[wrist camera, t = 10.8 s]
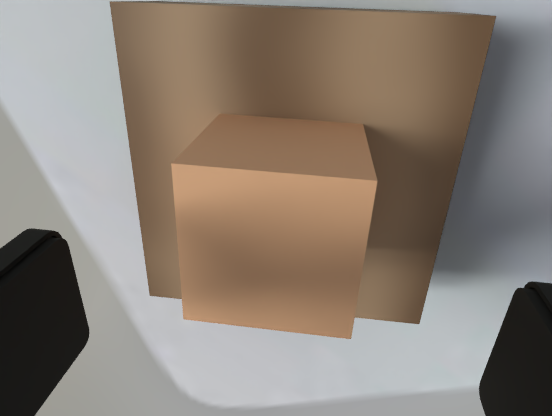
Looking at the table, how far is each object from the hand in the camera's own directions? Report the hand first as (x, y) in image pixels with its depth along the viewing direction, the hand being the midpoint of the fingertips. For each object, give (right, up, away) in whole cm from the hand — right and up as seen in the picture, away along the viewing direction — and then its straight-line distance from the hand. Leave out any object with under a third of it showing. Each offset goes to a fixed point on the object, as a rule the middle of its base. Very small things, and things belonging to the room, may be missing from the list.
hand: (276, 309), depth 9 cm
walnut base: (+1, +5, +10) cm, 11 cm away
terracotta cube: (0, +3, +7) cm, 7 cm away
